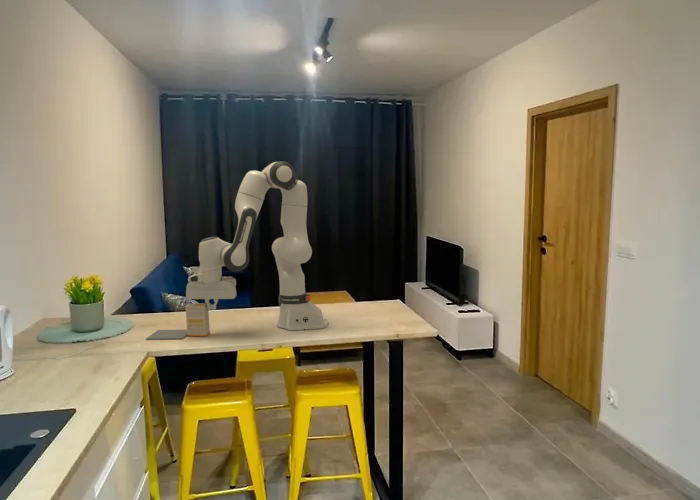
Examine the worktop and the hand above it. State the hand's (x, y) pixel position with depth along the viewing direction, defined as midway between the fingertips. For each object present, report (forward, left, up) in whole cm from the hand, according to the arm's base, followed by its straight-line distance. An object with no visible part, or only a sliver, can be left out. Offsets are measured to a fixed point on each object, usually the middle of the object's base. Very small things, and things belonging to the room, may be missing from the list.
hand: (212, 309), depth 214 cm
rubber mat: (+18, 0, -11) cm, 21 cm away
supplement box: (+6, 0, -11) cm, 13 cm away
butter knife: (+43, +19, -11) cm, 49 cm away
